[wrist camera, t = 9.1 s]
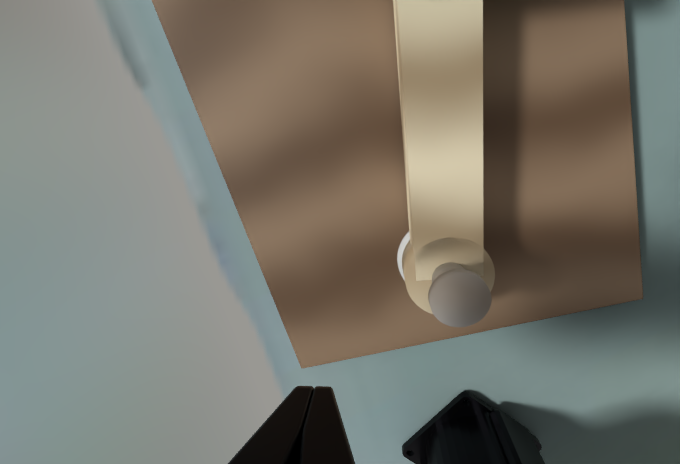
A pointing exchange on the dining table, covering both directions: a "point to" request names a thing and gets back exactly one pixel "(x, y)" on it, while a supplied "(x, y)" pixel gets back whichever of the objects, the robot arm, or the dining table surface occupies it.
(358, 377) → the dining table surface
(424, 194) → the link
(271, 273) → the base board
